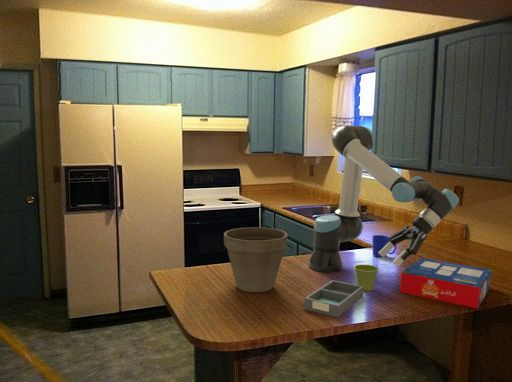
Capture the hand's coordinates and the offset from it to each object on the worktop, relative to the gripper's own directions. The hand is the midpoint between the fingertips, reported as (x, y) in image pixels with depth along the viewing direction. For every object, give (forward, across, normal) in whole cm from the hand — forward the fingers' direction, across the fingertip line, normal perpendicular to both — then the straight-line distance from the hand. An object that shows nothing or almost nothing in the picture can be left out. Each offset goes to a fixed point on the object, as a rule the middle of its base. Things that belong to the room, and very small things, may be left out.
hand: (387, 259), depth 183 cm
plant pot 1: (+45, +7, +28) cm, 54 cm away
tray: (+26, -13, +10) cm, 31 cm away
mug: (-5, +48, -23) cm, 53 cm away
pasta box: (-18, +8, -30) cm, 36 cm away
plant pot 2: (+14, +1, -3) cm, 15 cm away
